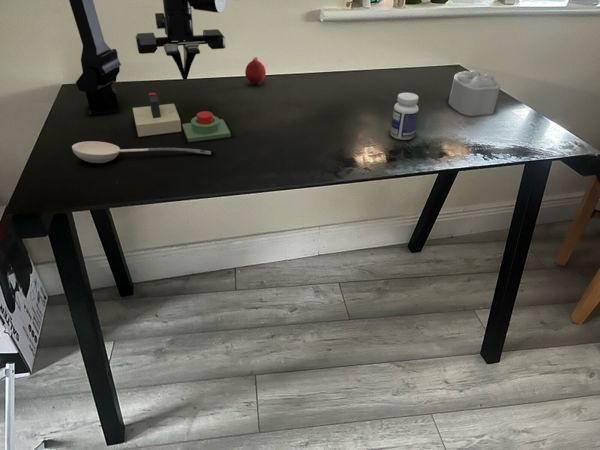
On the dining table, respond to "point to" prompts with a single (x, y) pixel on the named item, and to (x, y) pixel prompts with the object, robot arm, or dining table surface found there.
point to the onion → (255, 71)
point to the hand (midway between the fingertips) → (184, 79)
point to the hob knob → (154, 105)
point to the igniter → (205, 130)
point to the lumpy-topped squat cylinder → (474, 93)
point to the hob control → (157, 120)
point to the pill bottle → (404, 116)
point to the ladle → (115, 151)
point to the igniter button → (205, 117)
